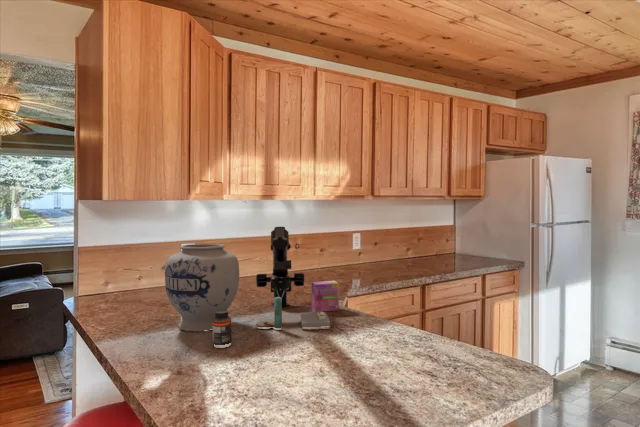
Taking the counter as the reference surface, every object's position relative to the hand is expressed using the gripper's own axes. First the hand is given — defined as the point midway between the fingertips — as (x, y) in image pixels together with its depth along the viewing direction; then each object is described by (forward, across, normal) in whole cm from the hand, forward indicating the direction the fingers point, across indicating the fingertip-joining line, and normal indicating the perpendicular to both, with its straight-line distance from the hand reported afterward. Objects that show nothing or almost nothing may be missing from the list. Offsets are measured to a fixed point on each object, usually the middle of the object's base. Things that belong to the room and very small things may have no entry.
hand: (280, 298), depth 165 cm
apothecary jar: (+8, -29, +5) cm, 30 cm away
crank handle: (+12, -5, 0) cm, 13 cm away
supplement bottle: (+24, -19, -12) cm, 33 cm away
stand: (+10, +13, +2) cm, 16 cm away
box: (-4, +19, +17) cm, 25 cm away
